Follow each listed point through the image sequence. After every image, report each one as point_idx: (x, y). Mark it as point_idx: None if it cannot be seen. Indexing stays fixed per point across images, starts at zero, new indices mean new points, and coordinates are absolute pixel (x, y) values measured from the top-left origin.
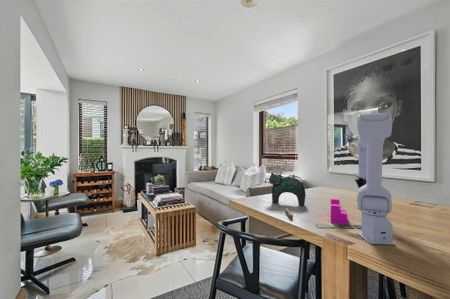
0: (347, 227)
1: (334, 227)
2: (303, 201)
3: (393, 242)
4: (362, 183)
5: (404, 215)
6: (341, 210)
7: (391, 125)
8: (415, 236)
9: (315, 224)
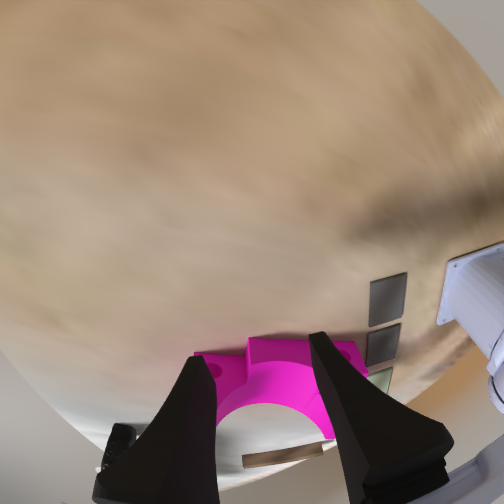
0: (394, 344)
1: (391, 372)
2: (131, 442)
3: (501, 246)
4: (201, 482)
5: (83, 14)
6: (252, 378)
7: None
8: (456, 129)
9: None
